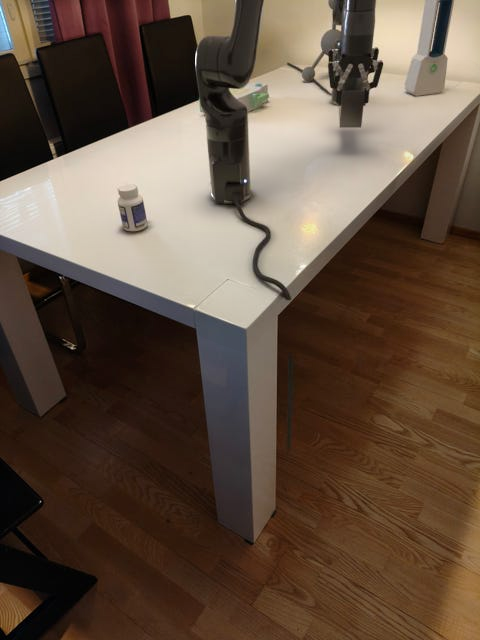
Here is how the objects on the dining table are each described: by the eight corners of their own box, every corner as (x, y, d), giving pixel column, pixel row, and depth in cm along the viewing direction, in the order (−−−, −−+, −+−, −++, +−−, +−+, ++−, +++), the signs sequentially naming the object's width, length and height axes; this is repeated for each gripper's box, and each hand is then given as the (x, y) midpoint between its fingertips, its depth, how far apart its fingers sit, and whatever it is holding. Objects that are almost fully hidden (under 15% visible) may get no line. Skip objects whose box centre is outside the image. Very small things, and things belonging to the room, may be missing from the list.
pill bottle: (149, 220, 107) (142, 181, 102) (146, 231, 103) (138, 191, 98) (125, 221, 107) (116, 182, 102) (121, 232, 103) (112, 193, 98)
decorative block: (232, 78, 185) (277, 83, 175) (233, 96, 189) (277, 102, 179) (189, 94, 169) (235, 100, 159) (191, 113, 173) (236, 121, 163)
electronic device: (413, 96, 177) (429, -3, 159) (402, 91, 183) (416, -4, 164) (444, 92, 179) (462, -6, 161) (432, 88, 185) (449, -7, 167)
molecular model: (291, 76, 212) (292, -6, 194) (337, 70, 217) (342, -11, 198) (313, 87, 194) (316, -2, 176) (362, 81, 199) (371, -7, 180)
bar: (361, 127, 128) (365, 90, 123) (339, 127, 129) (342, 90, 124) (357, 103, 146) (360, 70, 141) (338, 104, 147) (340, 70, 141)
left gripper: (328, 34, 116) (323, 109, 127) (390, 32, 114) (380, 108, 125) (328, 30, 122) (324, 101, 132) (387, 28, 120) (378, 101, 130)
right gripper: (382, 19, 133) (374, 85, 143) (328, 21, 135) (325, 86, 145) (384, 23, 127) (376, 92, 137) (328, 25, 129) (324, 92, 139)
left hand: (351, 104), depth 128 cm, fingers closed on bar, 5 cm apart
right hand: (350, 88), depth 141 cm, fingers open, 6 cm apart
